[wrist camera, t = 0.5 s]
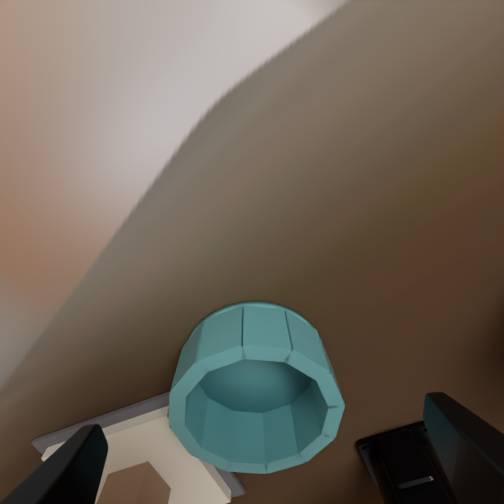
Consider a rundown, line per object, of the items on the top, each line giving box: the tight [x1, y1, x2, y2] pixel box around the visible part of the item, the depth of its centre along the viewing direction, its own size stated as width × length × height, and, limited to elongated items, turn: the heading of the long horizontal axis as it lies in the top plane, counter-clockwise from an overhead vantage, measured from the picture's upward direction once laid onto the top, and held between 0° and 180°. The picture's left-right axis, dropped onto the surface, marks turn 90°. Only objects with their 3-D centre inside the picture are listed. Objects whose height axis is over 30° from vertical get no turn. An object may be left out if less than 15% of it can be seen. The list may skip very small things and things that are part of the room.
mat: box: [31, 391, 245, 498], centre depth 29 cm, size 14×14×1 cm
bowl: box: [169, 301, 345, 474], centre depth 23 cm, size 11×11×5 cm
